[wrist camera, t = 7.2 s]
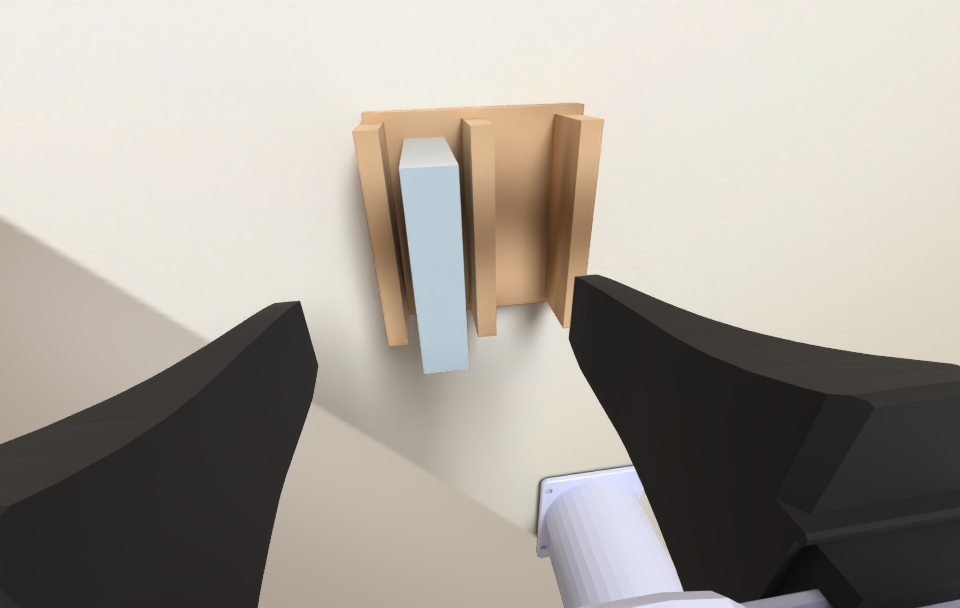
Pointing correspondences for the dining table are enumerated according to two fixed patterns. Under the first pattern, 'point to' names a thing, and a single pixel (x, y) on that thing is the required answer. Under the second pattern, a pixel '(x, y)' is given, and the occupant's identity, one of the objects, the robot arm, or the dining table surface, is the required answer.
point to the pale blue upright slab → (435, 251)
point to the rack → (489, 204)
